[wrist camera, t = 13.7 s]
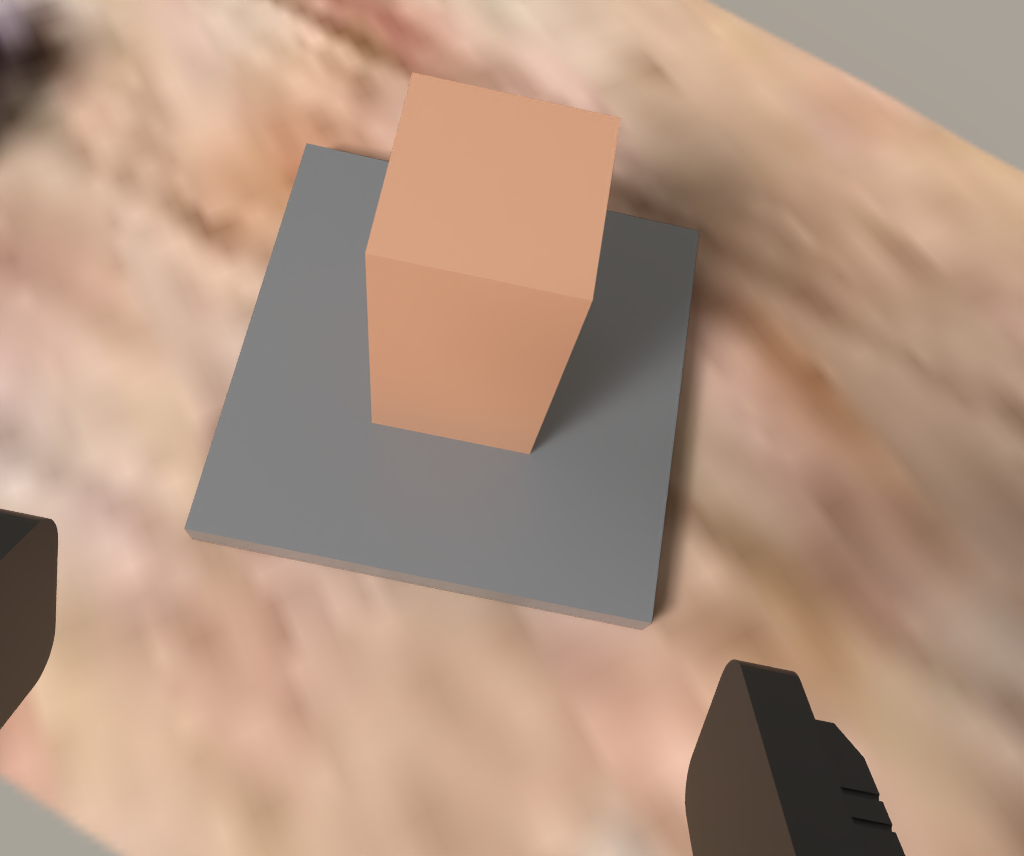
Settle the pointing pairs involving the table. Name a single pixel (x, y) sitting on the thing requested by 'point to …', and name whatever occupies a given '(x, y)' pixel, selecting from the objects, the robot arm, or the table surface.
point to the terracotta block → (483, 259)
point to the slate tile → (443, 461)
